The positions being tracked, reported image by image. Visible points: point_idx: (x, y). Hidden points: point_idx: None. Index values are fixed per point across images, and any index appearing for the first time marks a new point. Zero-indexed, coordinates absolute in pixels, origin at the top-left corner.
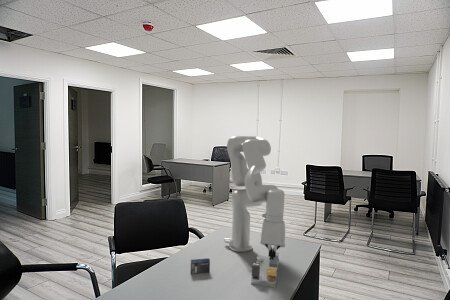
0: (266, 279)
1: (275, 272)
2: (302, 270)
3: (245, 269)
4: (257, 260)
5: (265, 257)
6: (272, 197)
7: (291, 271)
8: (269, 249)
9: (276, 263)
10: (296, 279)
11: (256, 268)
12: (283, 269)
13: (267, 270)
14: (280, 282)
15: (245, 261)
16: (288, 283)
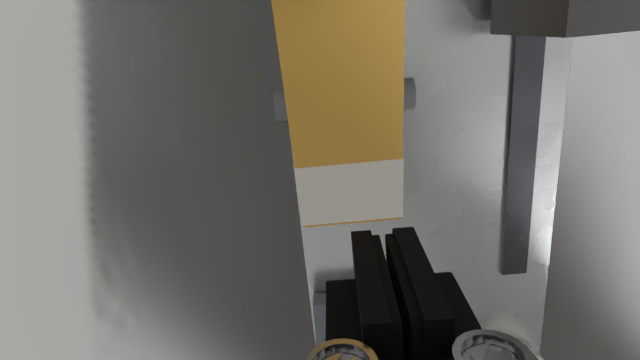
0: None
1: None
2: (103, 357)
3: (626, 194)
4: (534, 347)
5: None
6: None
7: (188, 309)
8: (487, 353)
9: (325, 320)
10: (106, 180)
11: None
12: (264, 319)
13: (403, 23)
14: (239, 56)
15: (629, 342)
16: (157, 67)
